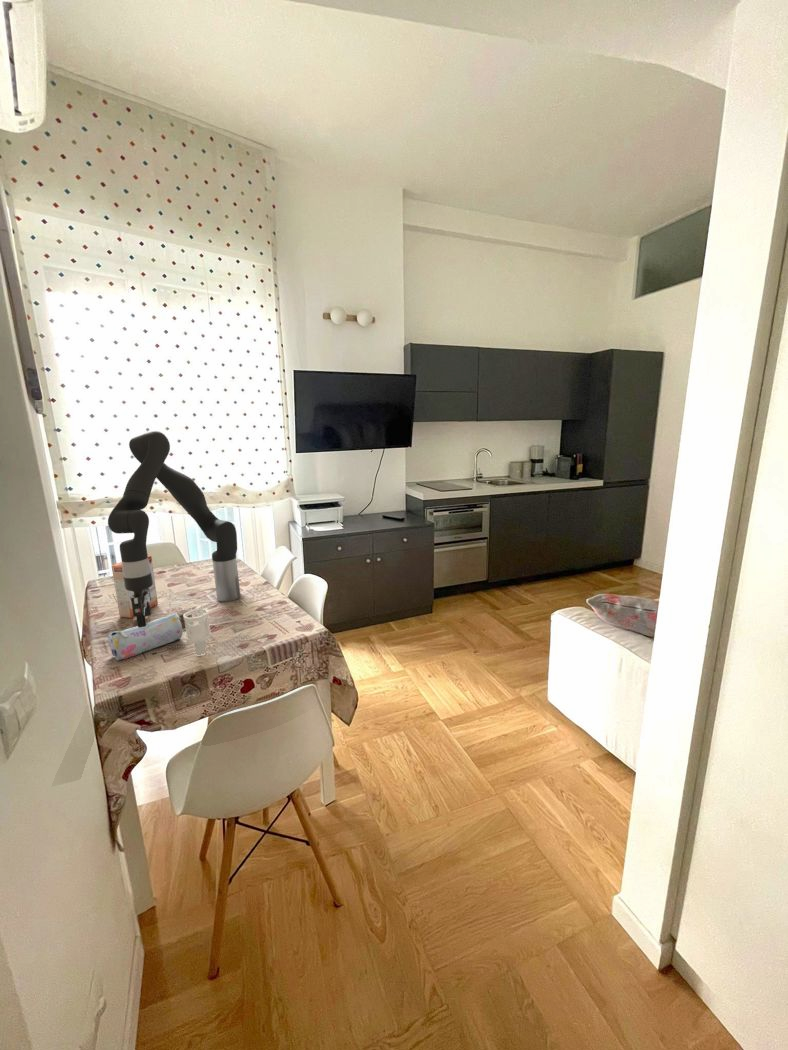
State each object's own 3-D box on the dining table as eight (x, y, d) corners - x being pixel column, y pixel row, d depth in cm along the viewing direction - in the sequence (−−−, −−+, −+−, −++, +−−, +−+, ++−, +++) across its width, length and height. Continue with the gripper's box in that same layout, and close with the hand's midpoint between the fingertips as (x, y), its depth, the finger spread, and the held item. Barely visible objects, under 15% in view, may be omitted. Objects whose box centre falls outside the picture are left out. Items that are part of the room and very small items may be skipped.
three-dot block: (151, 624, 157) (149, 612, 156) (148, 629, 153) (146, 617, 152) (137, 626, 156) (135, 614, 155) (134, 632, 152) (132, 620, 151)
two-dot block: (192, 620, 160) (190, 608, 159) (191, 625, 156) (189, 613, 155) (179, 622, 159) (177, 610, 158) (177, 627, 155) (176, 615, 154)
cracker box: (132, 618, 162) (123, 566, 158) (119, 617, 164) (109, 565, 159) (159, 603, 176) (151, 555, 171) (146, 603, 177) (138, 554, 172)
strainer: (216, 647, 140) (211, 604, 136) (208, 659, 133) (202, 614, 129) (194, 648, 139) (188, 605, 136) (185, 660, 132) (178, 615, 129)
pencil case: (114, 666, 130) (109, 637, 128) (108, 655, 136) (103, 628, 134) (186, 641, 144) (183, 615, 142) (178, 633, 150) (174, 608, 148)
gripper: (146, 578, 129) (154, 628, 132) (154, 564, 142) (161, 610, 145) (117, 582, 126) (126, 632, 130) (128, 567, 139) (136, 614, 143)
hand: (144, 620), depth 138 cm, fingers open, 8 cm apart
